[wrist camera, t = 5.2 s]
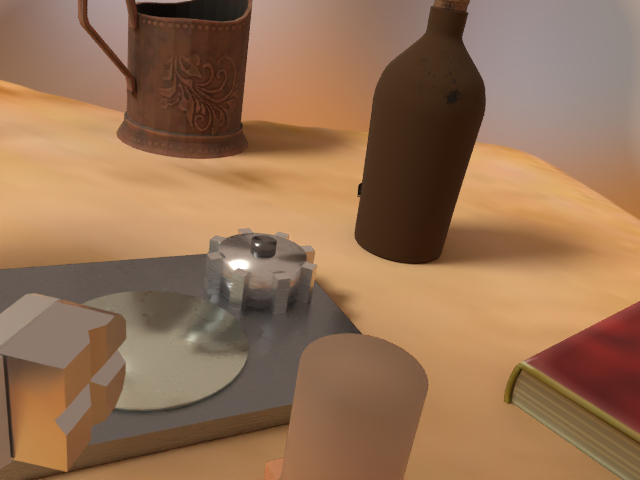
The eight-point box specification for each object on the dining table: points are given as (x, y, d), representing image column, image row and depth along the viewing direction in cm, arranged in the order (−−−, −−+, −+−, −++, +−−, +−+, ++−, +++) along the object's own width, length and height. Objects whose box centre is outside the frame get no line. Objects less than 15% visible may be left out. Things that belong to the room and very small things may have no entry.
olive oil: (466, 254, 65) (535, 6, 55) (402, 276, 58) (467, -3, 48) (393, 217, 72) (442, -11, 62) (327, 232, 65) (370, -21, 55)
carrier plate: (-1, 486, 31) (-9, 398, 28) (-7, 287, 46) (-12, 221, 44) (399, 399, 41) (416, 330, 39) (284, 262, 57) (291, 208, 55)
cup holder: (273, 152, 88) (296, -36, 78) (114, 169, 73) (116, -64, 62) (204, 117, 100) (216, -51, 90) (54, 125, 84) (47, -77, 74)
